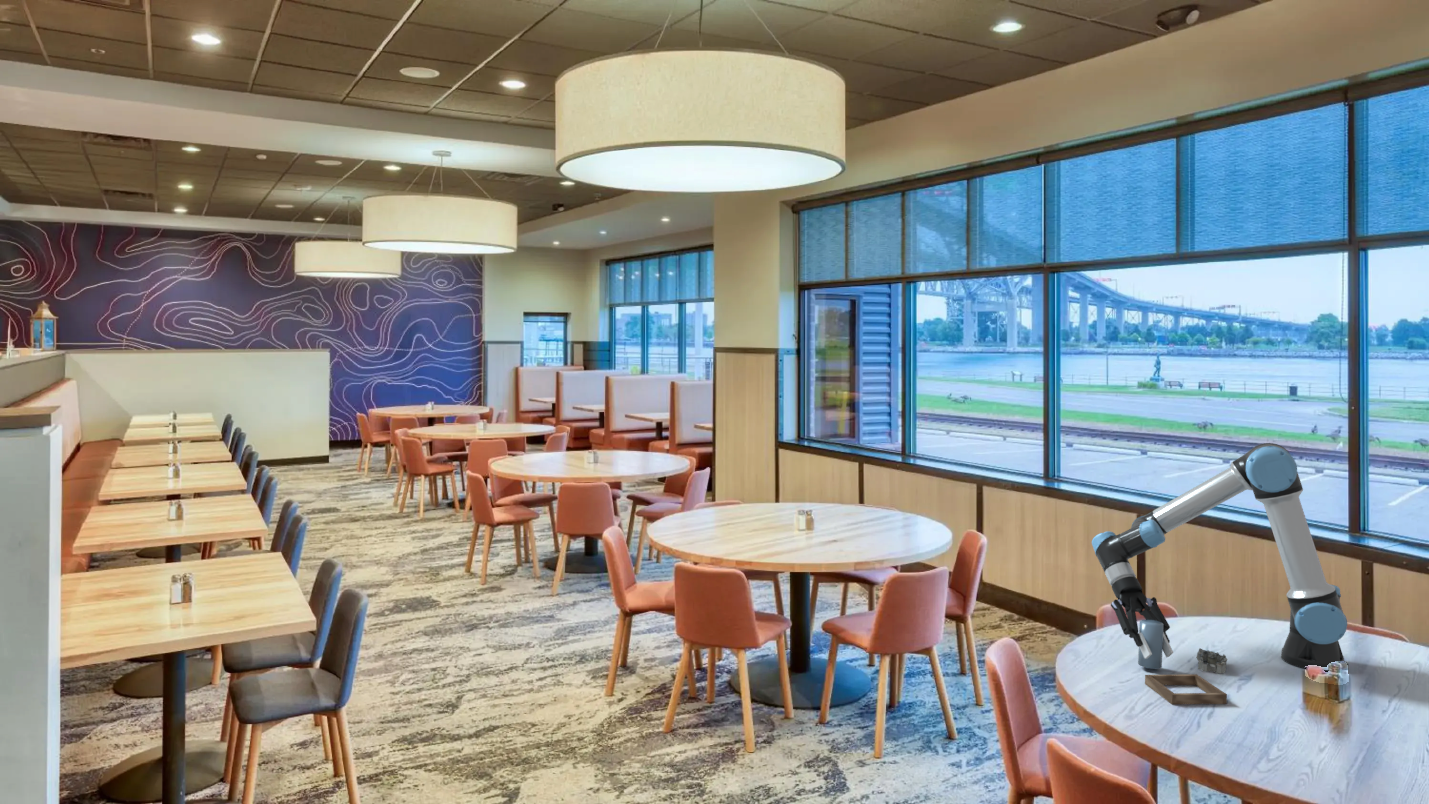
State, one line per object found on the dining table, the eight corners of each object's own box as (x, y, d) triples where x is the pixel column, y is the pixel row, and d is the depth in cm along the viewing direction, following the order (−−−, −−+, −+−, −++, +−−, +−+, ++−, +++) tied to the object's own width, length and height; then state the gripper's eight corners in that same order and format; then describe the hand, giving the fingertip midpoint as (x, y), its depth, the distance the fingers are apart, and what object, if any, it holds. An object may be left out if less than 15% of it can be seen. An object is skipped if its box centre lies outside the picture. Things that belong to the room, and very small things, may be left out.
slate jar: (1155, 661, 264) (1156, 619, 263) (1166, 668, 258) (1167, 626, 257) (1134, 661, 263) (1135, 619, 263) (1144, 668, 257) (1146, 626, 257)
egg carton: (1225, 676, 256) (1226, 661, 256) (1194, 670, 260) (1195, 656, 260) (1228, 664, 265) (1228, 650, 265) (1198, 659, 269) (1199, 645, 269)
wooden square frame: (1196, 683, 250) (1196, 674, 250) (1226, 703, 236) (1226, 694, 236) (1144, 683, 249) (1145, 674, 249) (1172, 704, 235) (1172, 694, 235)
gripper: (1146, 586, 276) (1182, 659, 261) (1088, 590, 272) (1122, 664, 258) (1158, 573, 271) (1196, 647, 256) (1100, 576, 267) (1135, 651, 252)
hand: (1159, 655), depth 257 cm, fingers closed on slate jar, 6 cm apart
